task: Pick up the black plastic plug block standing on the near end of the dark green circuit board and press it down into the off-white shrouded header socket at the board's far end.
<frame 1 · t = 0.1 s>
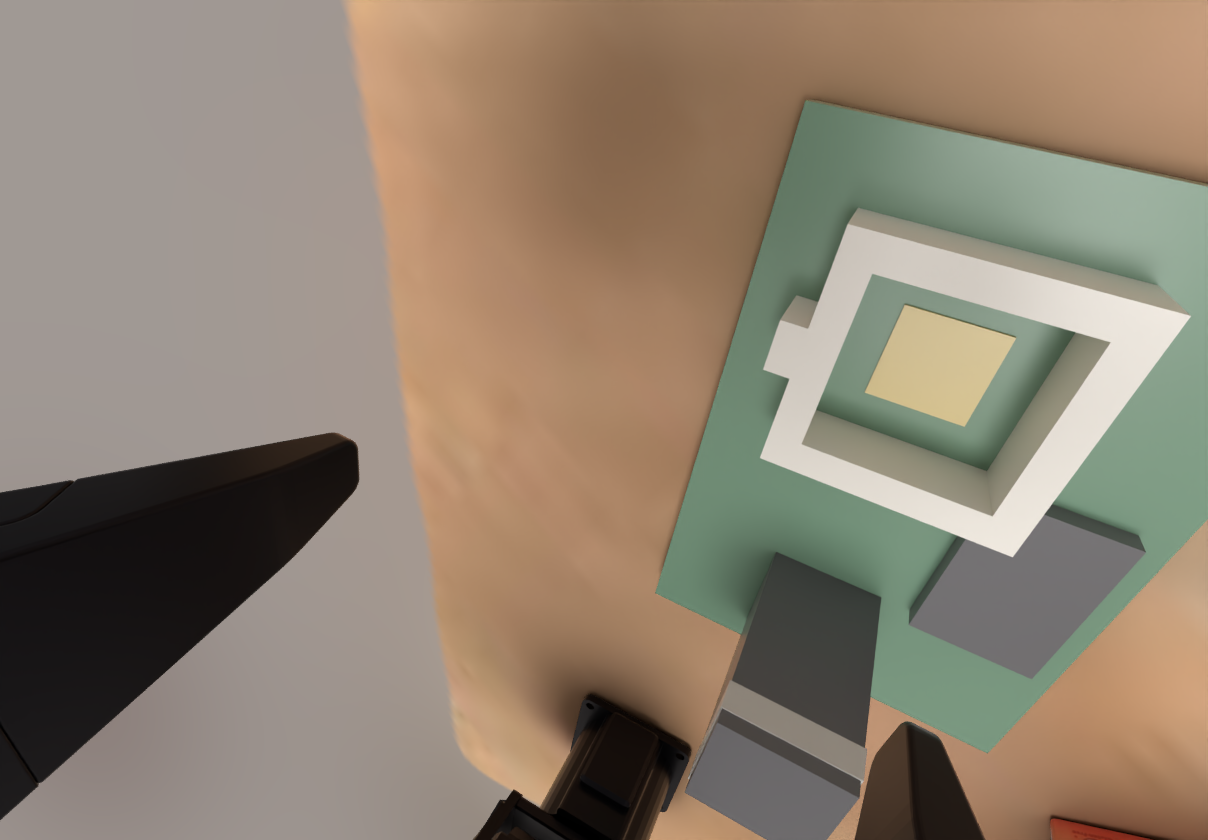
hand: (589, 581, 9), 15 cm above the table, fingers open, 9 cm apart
circuit board: (913, 464, 21), on the table
black plug: (809, 608, 24), point 1 cm above the table, touching circuit board
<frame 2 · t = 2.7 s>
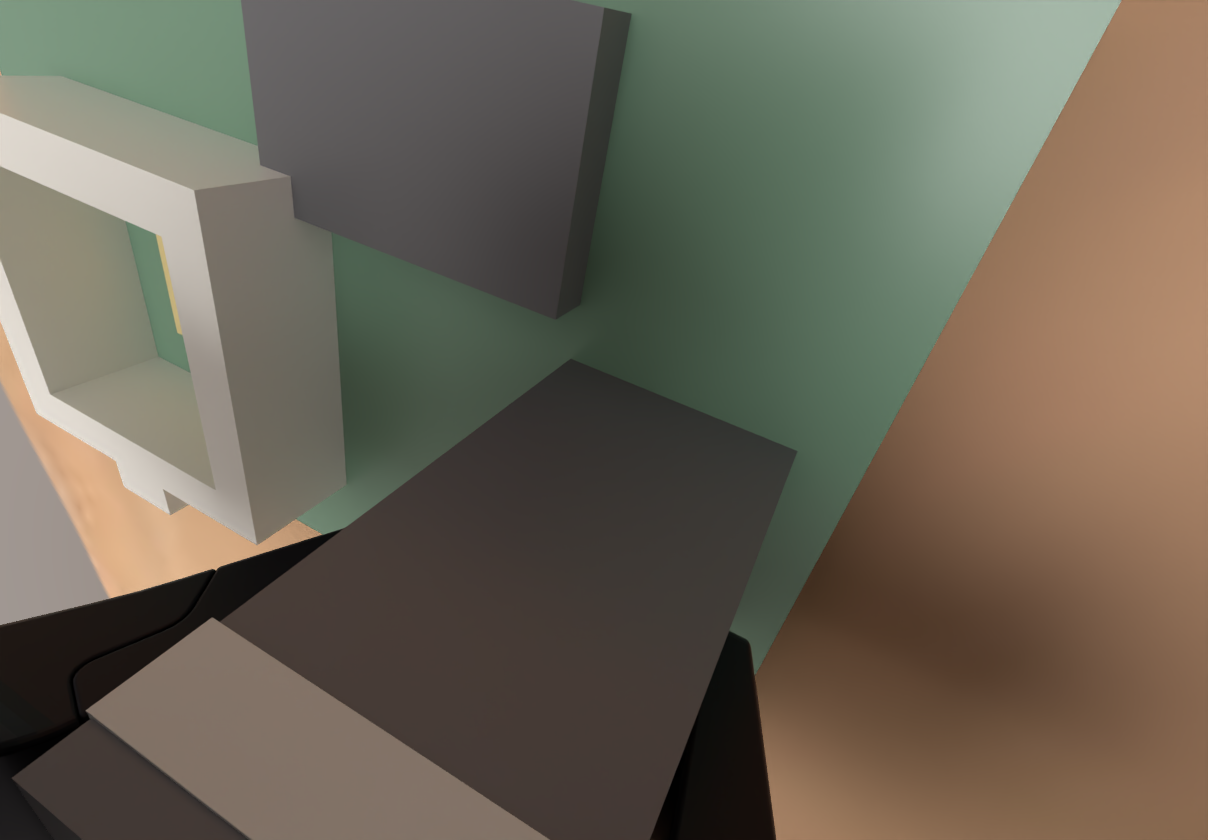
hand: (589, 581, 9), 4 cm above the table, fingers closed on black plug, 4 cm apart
circuit board: (389, 297, 13), on the table
black plug: (650, 494, 11), point 1 cm above the table, touching circuit board, gripper
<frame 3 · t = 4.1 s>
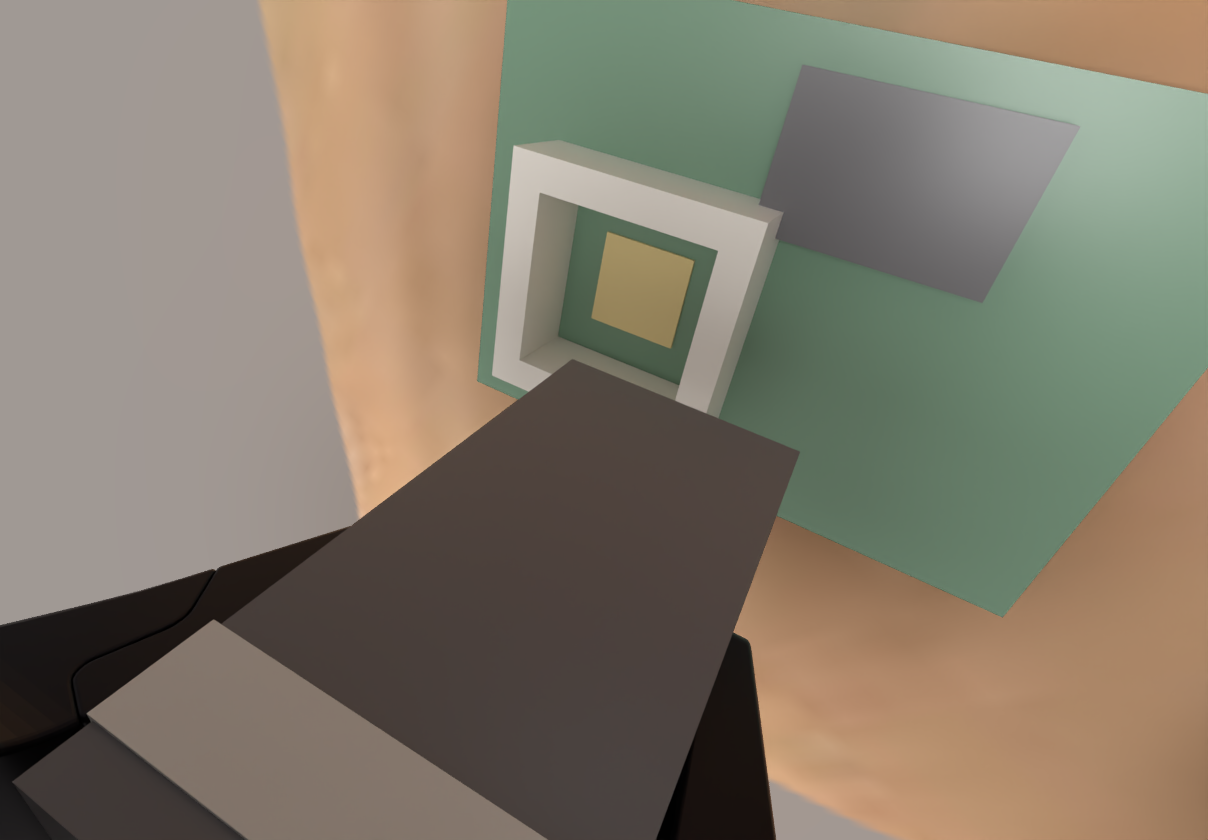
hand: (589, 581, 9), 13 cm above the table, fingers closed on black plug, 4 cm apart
circuit board: (777, 292, 19), on the table
black plug: (651, 495, 11), point 11 cm above the table, touching gripper
when the fingers open (5 cm above the table, at t = 6.0 s): black plug stays where it is, resting on circuit board.
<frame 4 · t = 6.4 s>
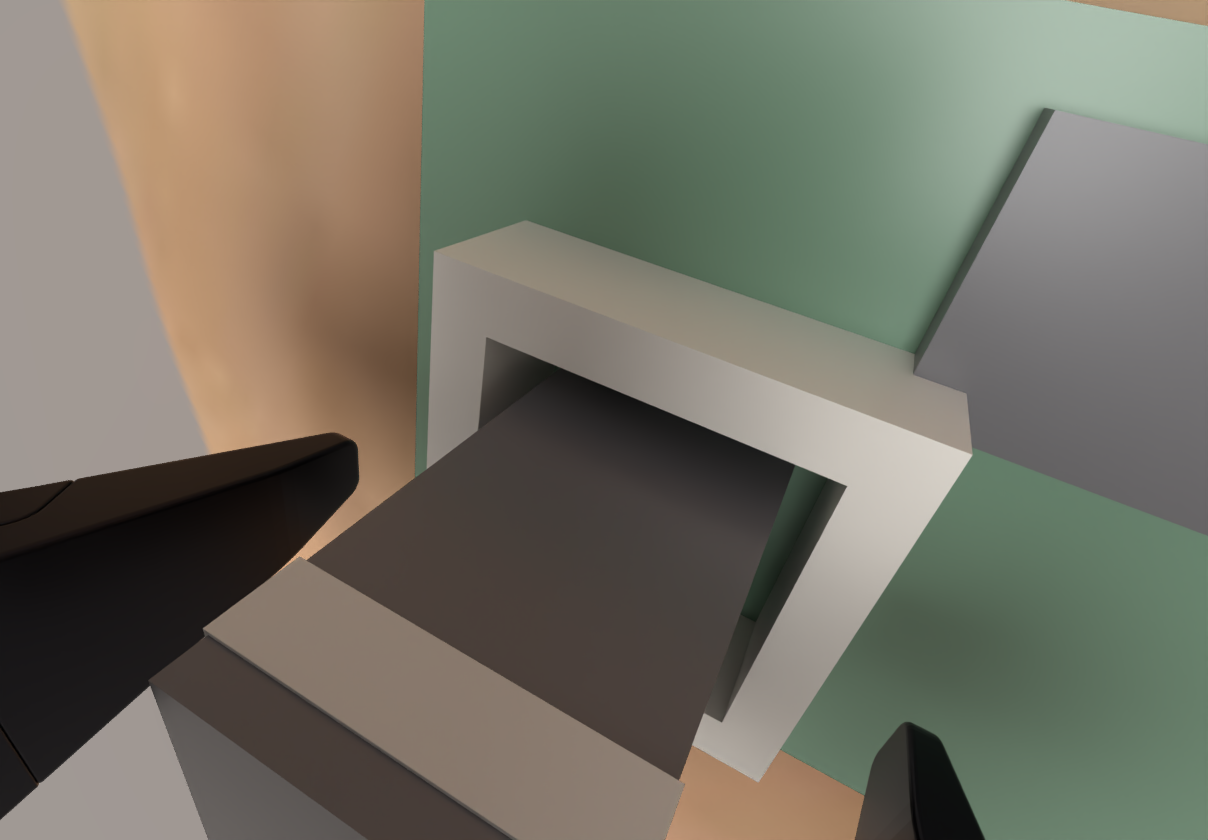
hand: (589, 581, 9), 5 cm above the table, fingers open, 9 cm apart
circuit board: (904, 480, 11), on the table
black plug: (668, 470, 12), point 1 cm above the table, touching circuit board
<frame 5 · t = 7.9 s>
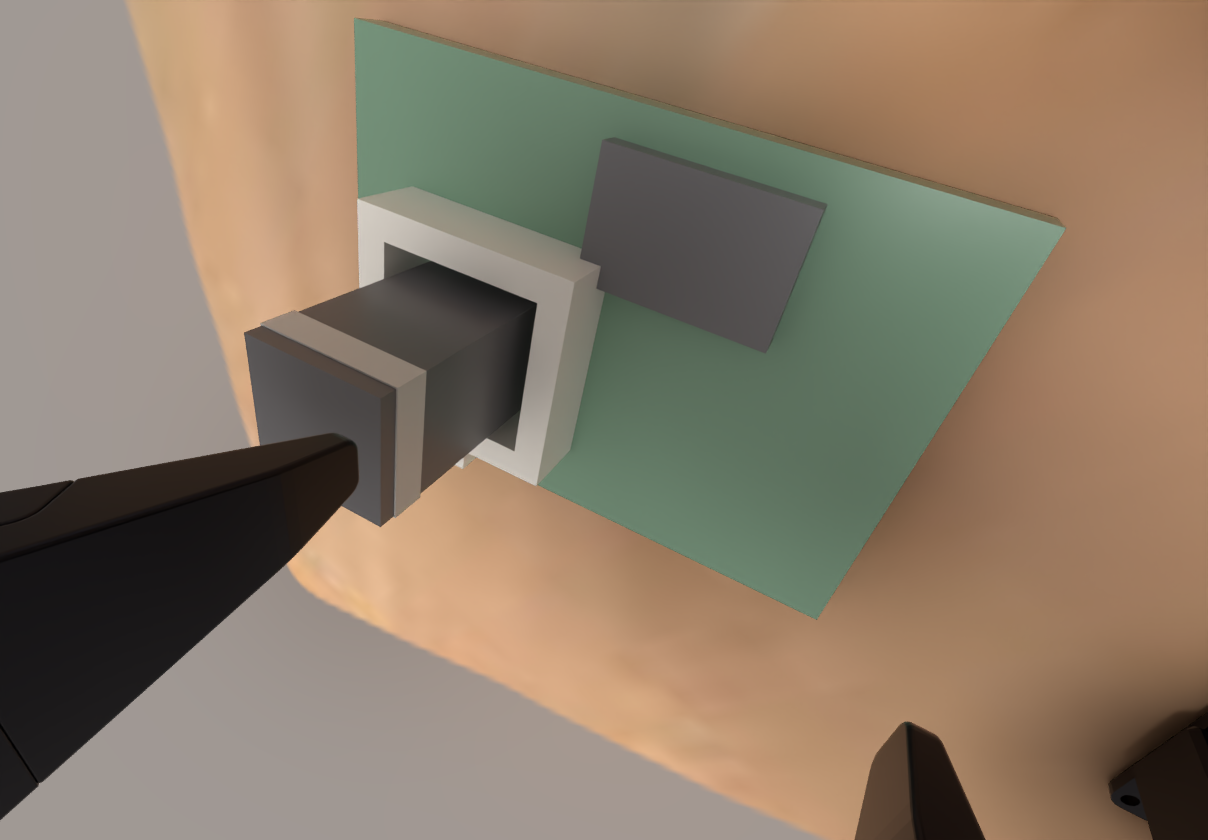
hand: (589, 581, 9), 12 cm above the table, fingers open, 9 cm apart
circuit board: (617, 329, 21), on the table
black plug: (495, 326, 21), point 1 cm above the table, touching circuit board
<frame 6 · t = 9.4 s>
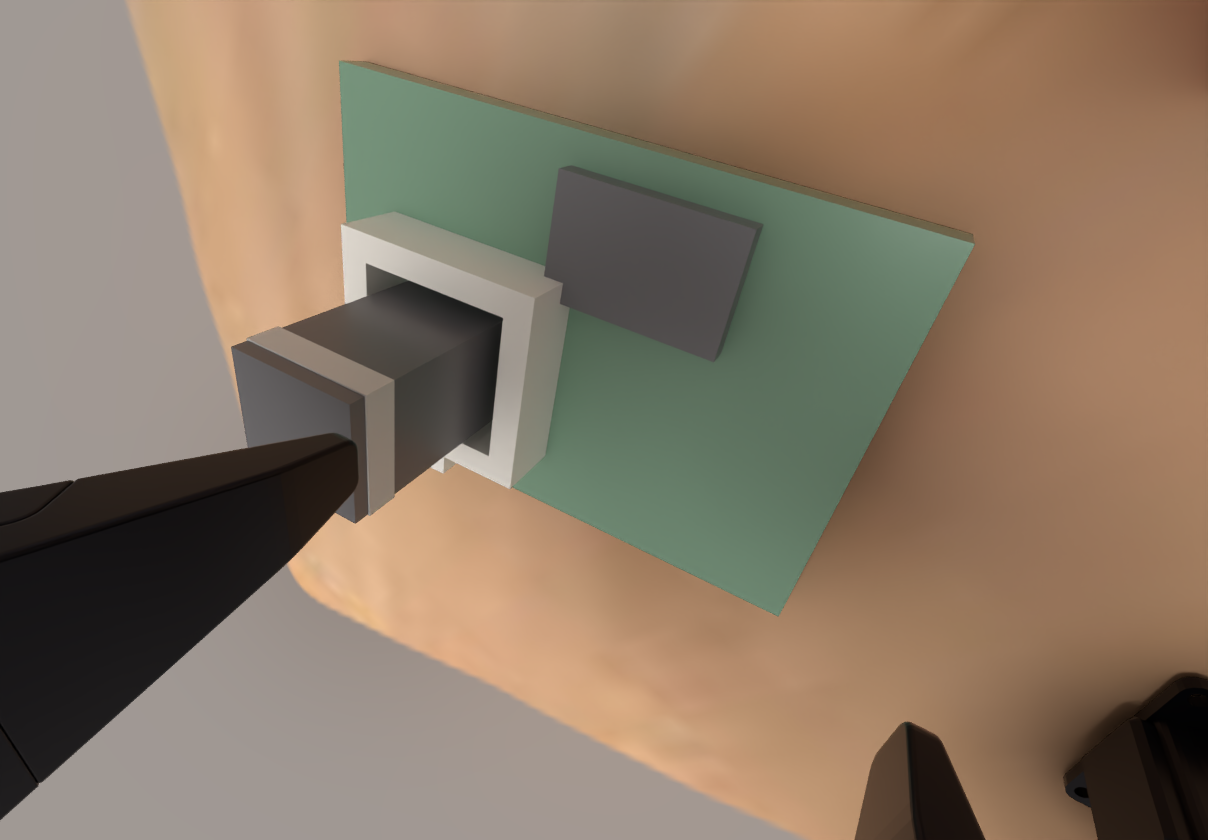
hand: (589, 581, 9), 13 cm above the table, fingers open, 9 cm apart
circuit board: (585, 341, 22), on the table
black plug: (473, 340, 23), point 1 cm above the table, touching circuit board
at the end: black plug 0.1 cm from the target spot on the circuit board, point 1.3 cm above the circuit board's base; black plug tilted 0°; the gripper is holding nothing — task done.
